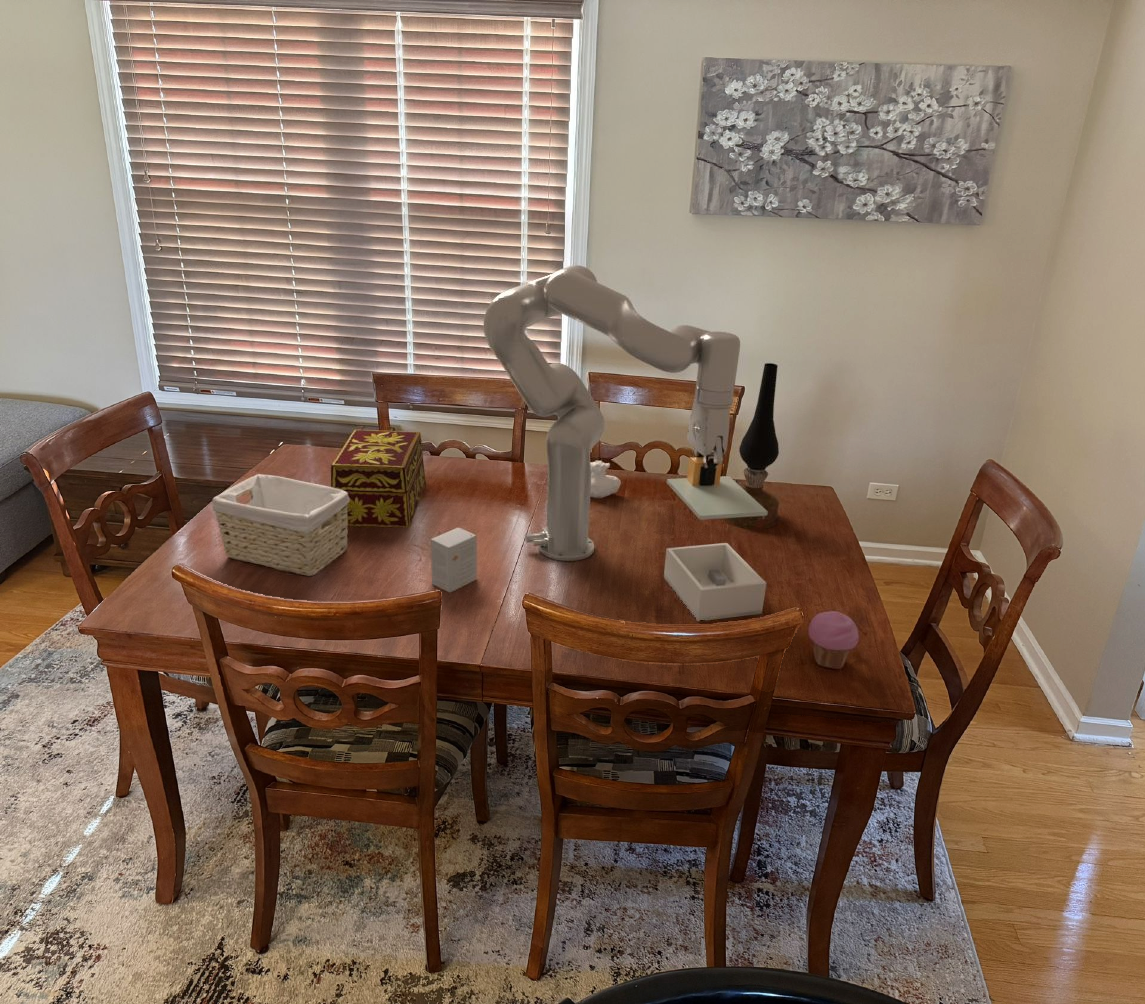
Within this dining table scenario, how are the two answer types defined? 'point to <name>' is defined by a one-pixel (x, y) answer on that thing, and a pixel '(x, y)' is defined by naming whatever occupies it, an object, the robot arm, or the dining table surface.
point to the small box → (454, 559)
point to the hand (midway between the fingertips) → (703, 480)
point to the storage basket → (283, 523)
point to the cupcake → (832, 638)
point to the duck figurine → (602, 480)
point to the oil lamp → (760, 454)
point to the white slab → (714, 495)
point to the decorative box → (380, 477)
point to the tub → (714, 581)
